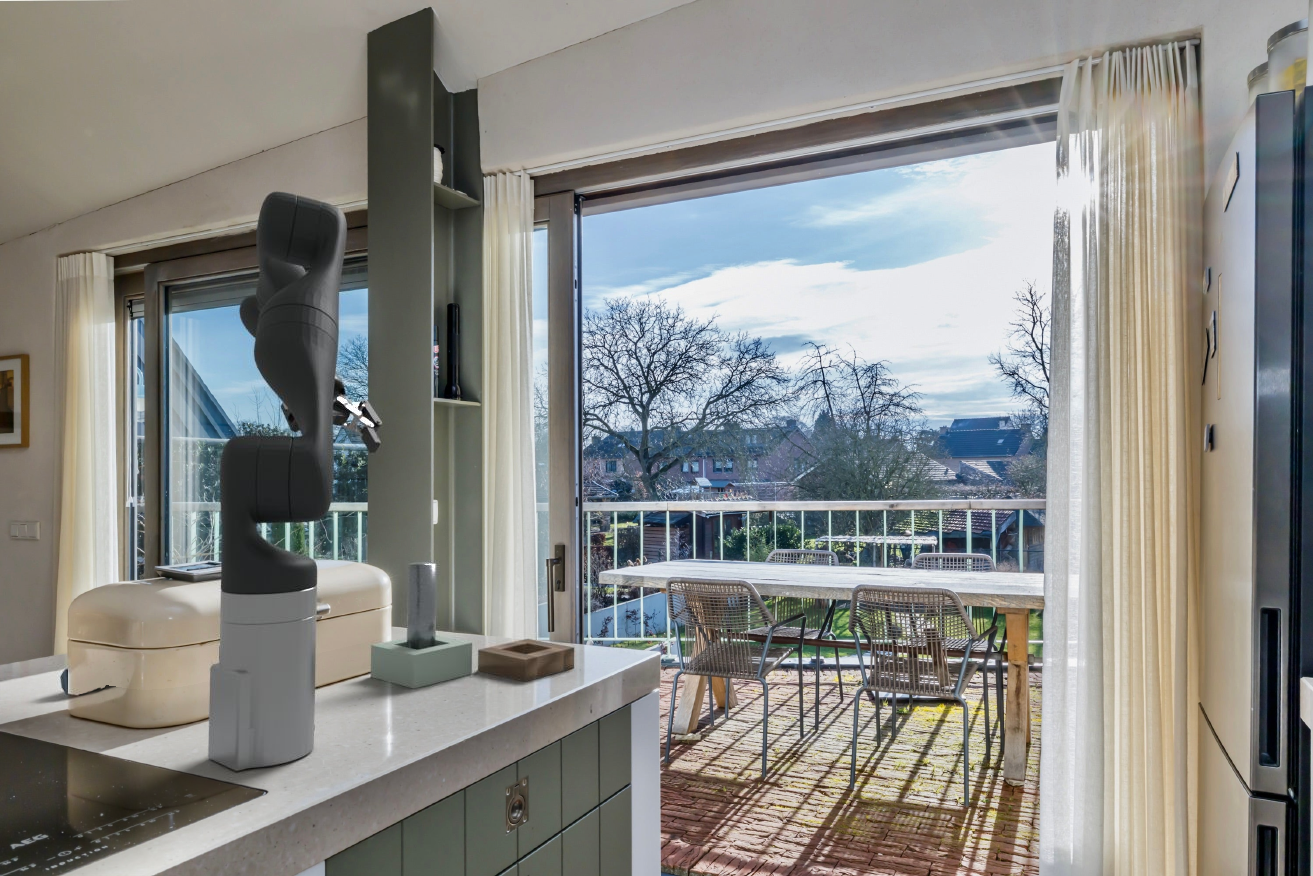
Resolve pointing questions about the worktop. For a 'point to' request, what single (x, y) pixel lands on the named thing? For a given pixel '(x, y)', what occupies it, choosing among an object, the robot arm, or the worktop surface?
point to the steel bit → (421, 605)
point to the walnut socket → (526, 659)
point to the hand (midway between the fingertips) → (350, 448)
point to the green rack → (421, 662)
